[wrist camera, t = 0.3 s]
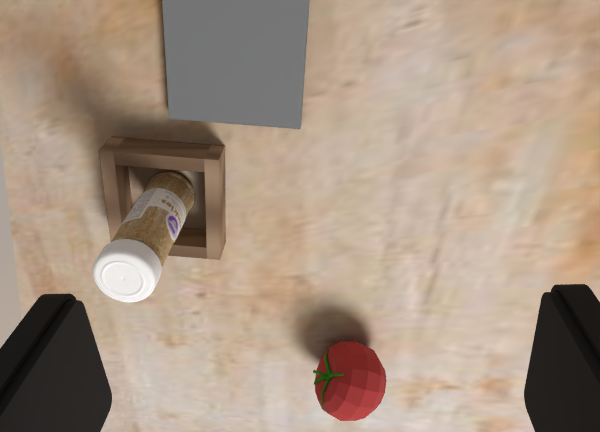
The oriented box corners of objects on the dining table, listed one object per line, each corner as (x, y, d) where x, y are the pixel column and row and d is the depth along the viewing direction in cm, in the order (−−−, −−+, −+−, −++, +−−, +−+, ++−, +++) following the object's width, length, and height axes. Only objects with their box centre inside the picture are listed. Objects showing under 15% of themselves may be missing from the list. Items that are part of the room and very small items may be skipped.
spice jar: (205, 200, 51) (167, 290, 39) (166, 220, 52) (118, 313, 41) (176, 161, 49) (127, 243, 38) (136, 182, 50) (77, 268, 39)
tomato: (393, 430, 53) (323, 416, 50) (353, 424, 60) (289, 411, 57) (403, 347, 55) (337, 329, 53) (363, 349, 62) (303, 333, 60)
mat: (164, -26, 41) (160, -24, 41) (310, -15, 41) (309, -13, 40) (172, 114, 47) (169, 118, 46) (300, 124, 47) (300, 129, 46)
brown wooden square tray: (111, 136, 48) (98, 150, 46) (224, 146, 48) (218, 160, 46) (122, 233, 53) (111, 250, 51) (225, 242, 53) (219, 259, 51)
